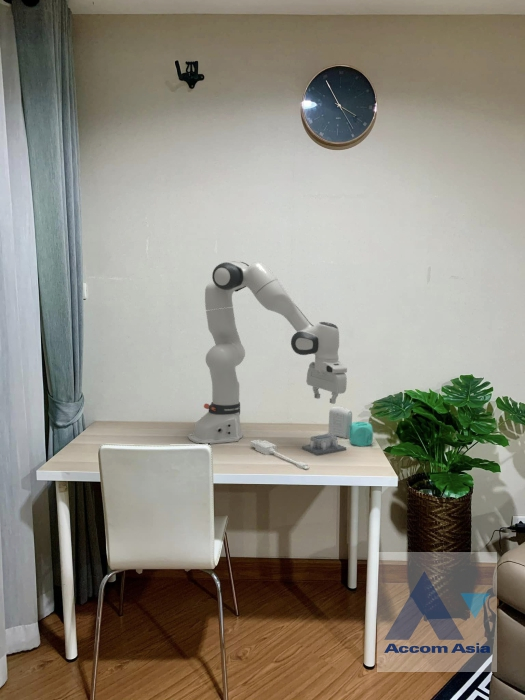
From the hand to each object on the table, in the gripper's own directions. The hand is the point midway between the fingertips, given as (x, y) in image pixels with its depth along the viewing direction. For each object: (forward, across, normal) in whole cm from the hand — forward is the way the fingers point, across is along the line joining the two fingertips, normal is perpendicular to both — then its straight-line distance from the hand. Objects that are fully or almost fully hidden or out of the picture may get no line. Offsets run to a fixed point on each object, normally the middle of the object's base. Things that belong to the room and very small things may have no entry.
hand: (324, 400), depth 233 cm
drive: (+18, 0, 0) cm, 18 cm away
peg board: (+19, 0, 0) cm, 19 cm away
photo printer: (+19, -12, +18) cm, 29 cm away
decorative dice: (+19, +1, +18) cm, 27 cm away
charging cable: (+20, 0, -20) cm, 29 cm away
